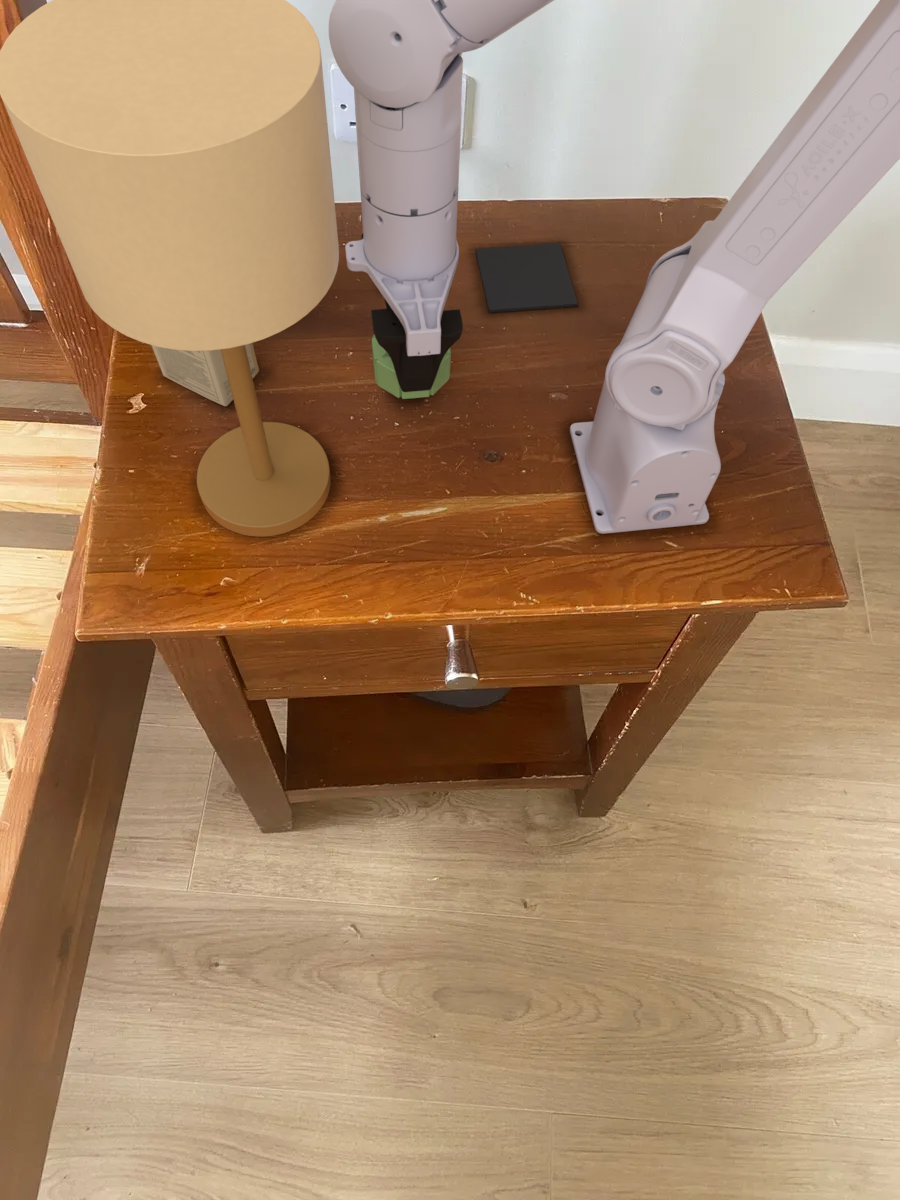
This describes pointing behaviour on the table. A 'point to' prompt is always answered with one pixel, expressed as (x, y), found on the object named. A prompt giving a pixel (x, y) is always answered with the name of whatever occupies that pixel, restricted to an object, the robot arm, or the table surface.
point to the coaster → (525, 277)
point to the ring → (389, 379)
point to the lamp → (191, 200)
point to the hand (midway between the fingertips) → (411, 355)
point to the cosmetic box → (201, 371)
